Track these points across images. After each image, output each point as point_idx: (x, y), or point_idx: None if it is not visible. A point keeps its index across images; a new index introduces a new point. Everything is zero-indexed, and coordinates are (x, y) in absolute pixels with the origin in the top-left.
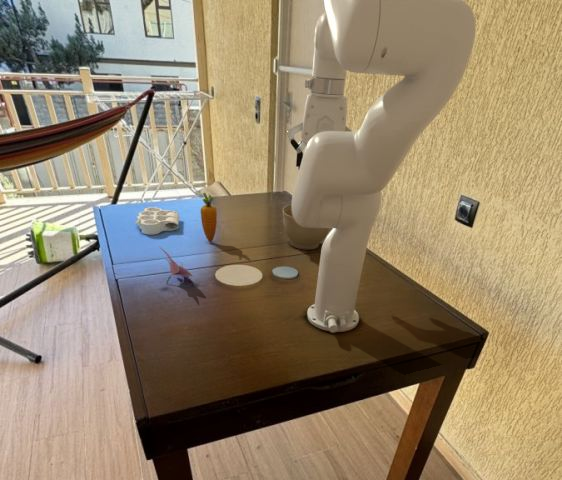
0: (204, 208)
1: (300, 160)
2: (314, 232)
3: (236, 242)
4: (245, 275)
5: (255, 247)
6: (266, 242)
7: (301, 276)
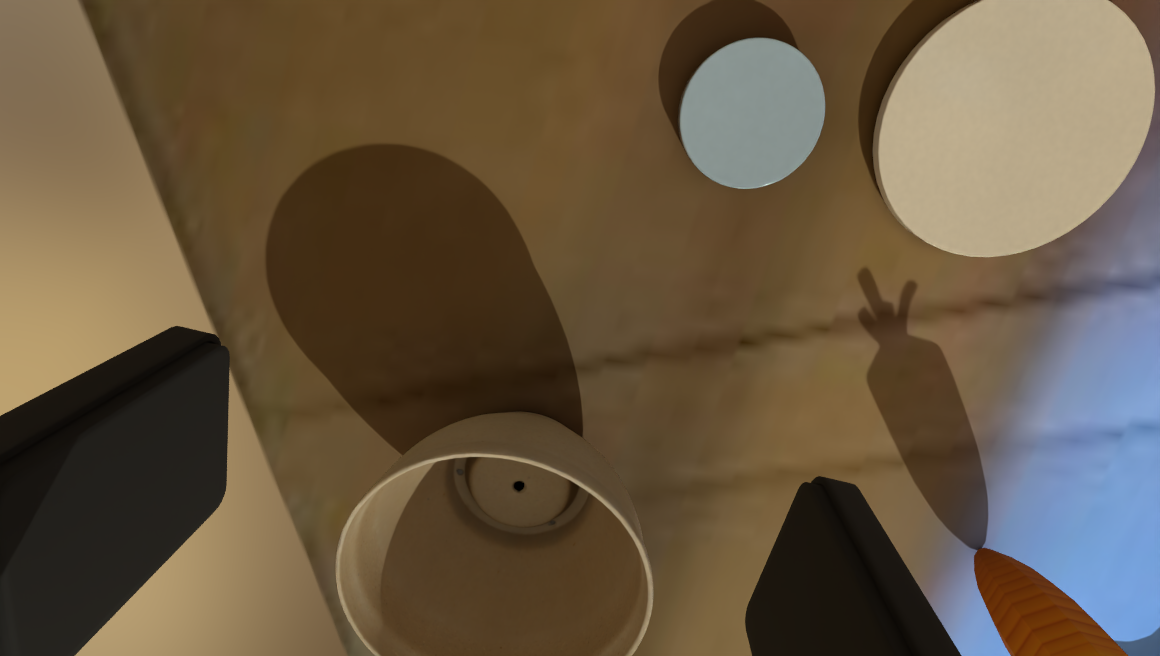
0: None
1: (908, 594)
2: (495, 421)
3: None
4: (981, 115)
5: (779, 472)
6: (706, 518)
7: (653, 112)
